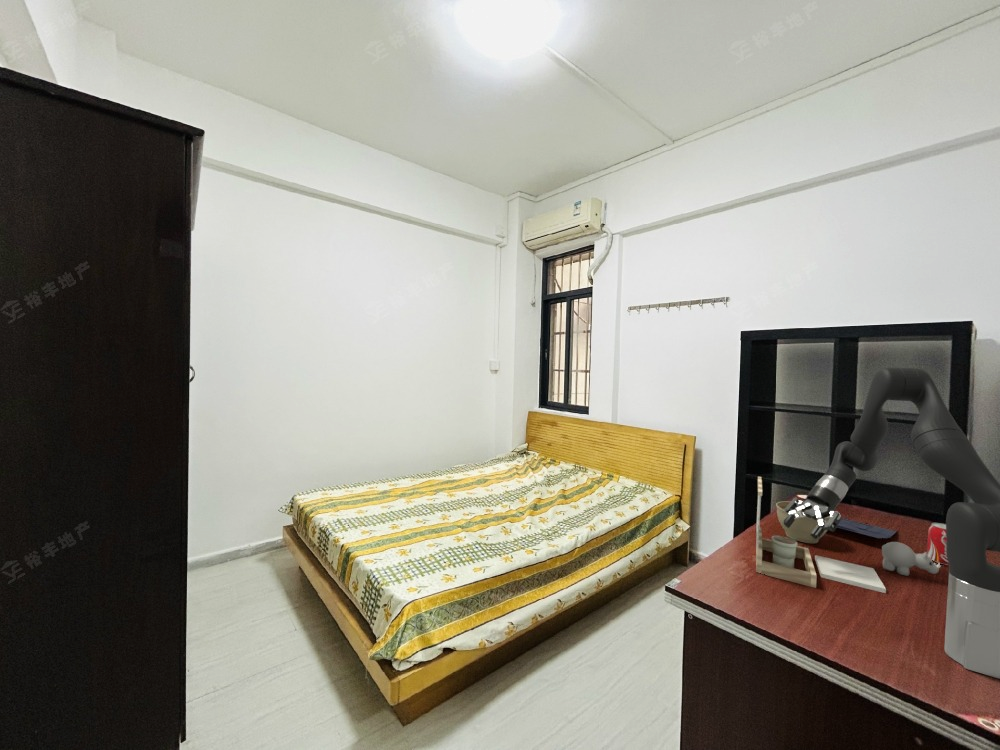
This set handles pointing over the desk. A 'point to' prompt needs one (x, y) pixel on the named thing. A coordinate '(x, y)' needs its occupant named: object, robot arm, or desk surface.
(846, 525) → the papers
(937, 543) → the soda can
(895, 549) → the round bodied animal figurine
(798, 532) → the planter bowl
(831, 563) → the concrete tile
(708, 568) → the desk surface
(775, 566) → the cold frame
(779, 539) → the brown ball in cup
